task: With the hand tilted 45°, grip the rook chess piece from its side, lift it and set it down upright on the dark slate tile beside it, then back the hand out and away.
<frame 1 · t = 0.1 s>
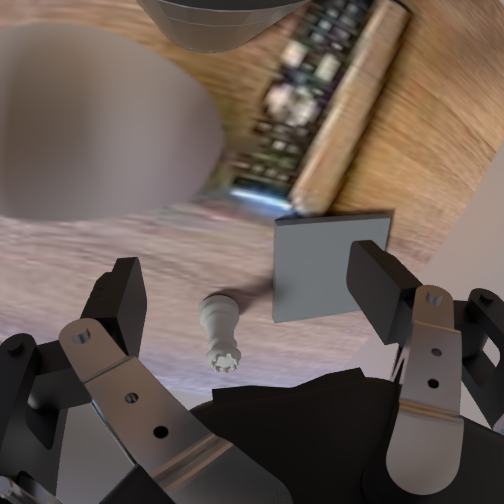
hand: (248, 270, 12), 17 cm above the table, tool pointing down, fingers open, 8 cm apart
slate tile: (327, 267, 34), on the table
rook chess piece: (217, 307, 35), on the table
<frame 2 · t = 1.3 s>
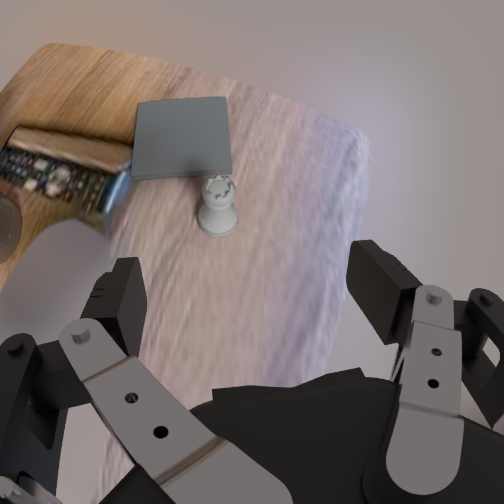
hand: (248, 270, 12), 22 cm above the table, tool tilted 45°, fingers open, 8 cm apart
slate tile: (181, 137, 39), on the table
rook chess piece: (218, 221, 37), on the table
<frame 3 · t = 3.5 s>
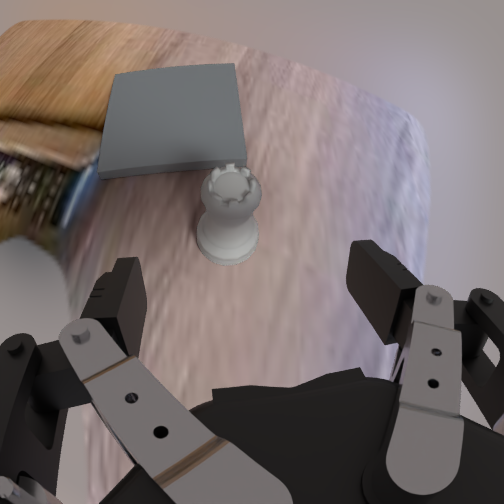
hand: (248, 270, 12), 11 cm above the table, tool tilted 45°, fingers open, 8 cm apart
slate tile: (172, 116, 27), on the table
rook chess piece: (227, 238, 24), on the table
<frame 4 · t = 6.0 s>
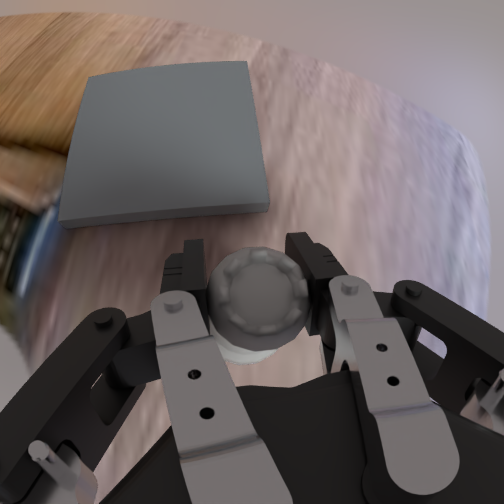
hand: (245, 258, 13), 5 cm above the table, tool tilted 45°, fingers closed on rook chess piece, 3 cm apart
slate tile: (162, 135, 20), on the table
rook chess piece: (242, 322, 17), on the table, touching gripper
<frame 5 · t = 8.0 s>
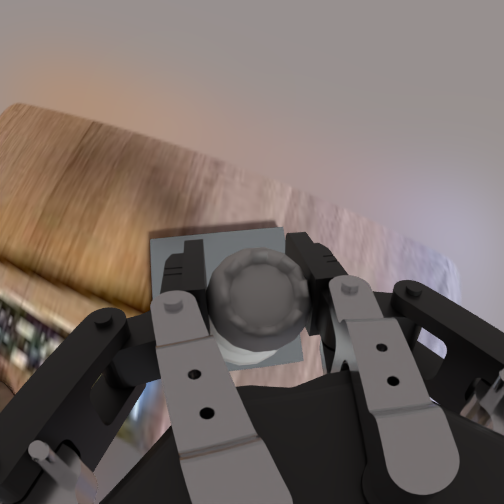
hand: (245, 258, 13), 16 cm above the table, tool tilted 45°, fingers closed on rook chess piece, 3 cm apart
slate tile: (223, 301, 28), on the table
rook chess piece: (242, 322, 17), point 11 cm above the table, touching gripper
when the fingers open (7 cm above the table, at t = 10.3 s): rook chess piece drops 1 cm, resting on slate tile.
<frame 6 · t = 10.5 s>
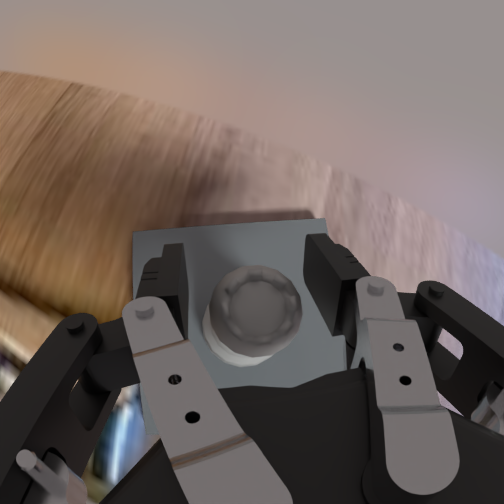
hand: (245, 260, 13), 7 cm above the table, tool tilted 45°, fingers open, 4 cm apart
slate tile: (239, 326, 19), on the table
rook chess piece: (242, 327, 18), point 1 cm above the table, touching slate tile
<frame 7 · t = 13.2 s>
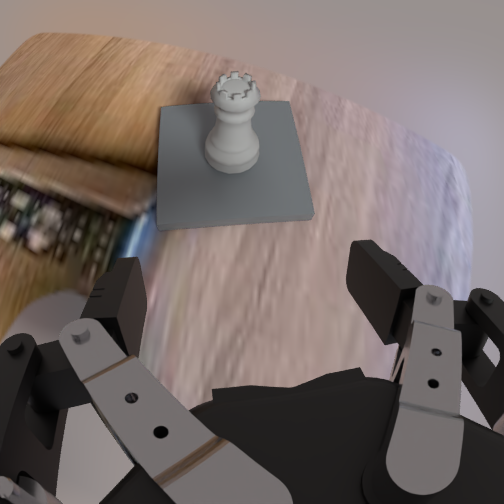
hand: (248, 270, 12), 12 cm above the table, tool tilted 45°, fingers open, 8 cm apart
slate tile: (230, 160, 27), on the table
rook chess piece: (231, 155, 26), point 1 cm above the table, touching slate tile
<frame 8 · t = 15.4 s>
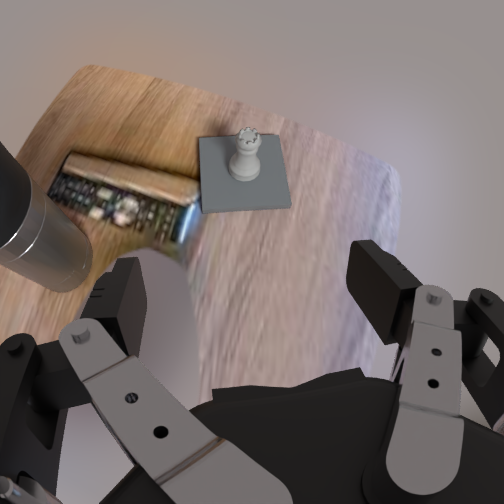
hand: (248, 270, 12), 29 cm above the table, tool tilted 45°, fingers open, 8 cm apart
slate tile: (242, 173, 46), on the table
rook chess piece: (243, 170, 45), point 1 cm above the table, touching slate tile
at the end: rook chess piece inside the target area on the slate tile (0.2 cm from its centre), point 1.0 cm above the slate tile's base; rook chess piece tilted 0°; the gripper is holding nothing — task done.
